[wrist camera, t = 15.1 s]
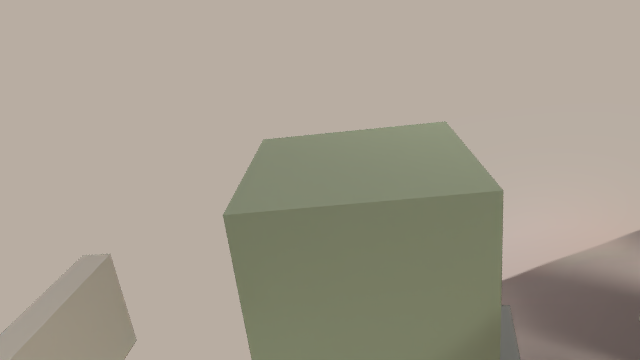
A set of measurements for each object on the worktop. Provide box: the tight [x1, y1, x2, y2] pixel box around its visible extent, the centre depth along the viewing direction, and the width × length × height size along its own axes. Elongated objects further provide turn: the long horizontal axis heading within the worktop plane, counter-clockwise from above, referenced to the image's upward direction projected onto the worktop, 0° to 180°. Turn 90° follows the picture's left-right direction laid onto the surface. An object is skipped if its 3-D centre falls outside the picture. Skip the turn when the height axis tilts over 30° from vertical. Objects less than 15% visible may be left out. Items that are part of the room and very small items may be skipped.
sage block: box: [223, 122, 503, 360], centre depth 17 cm, size 7×7×10 cm
